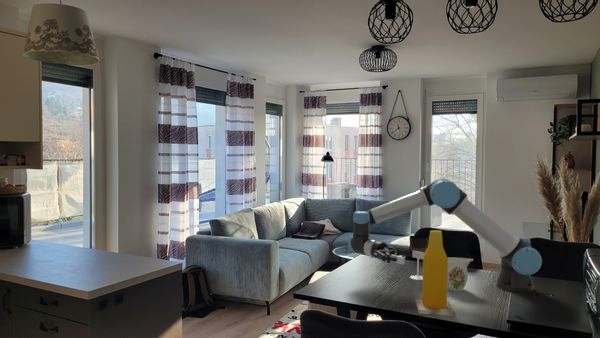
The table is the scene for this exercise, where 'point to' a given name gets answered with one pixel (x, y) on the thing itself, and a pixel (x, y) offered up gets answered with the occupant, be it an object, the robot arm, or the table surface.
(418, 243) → the wineglass
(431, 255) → the beer bottle
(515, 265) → the robot arm
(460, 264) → the pitcher
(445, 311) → the birch board
